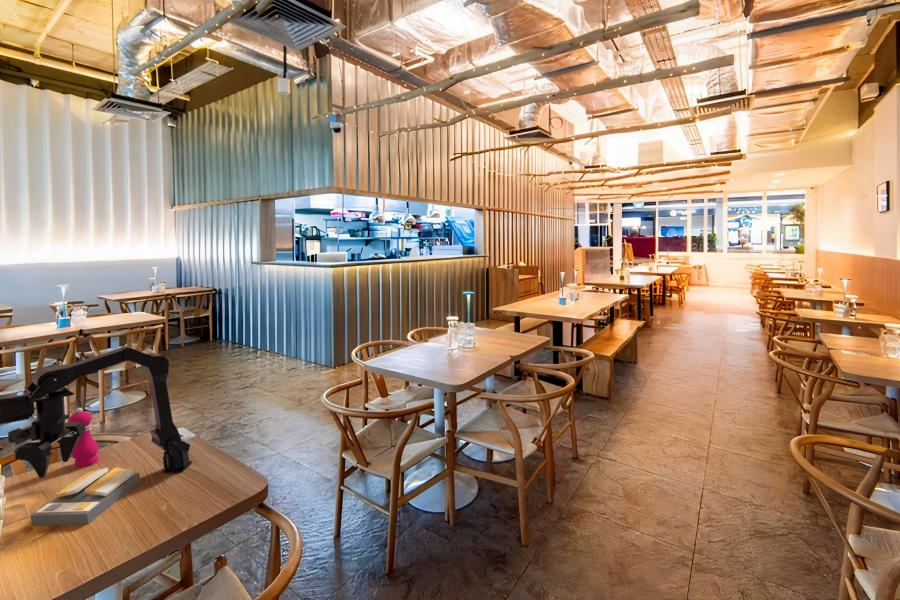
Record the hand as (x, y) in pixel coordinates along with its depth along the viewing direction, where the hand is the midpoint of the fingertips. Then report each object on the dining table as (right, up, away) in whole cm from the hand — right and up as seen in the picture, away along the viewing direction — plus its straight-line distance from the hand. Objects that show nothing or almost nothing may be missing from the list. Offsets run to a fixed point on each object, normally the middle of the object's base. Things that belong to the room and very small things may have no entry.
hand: (54, 469), depth 120 cm
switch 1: (0, -8, +10) cm, 13 cm away
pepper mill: (-16, -10, +30) cm, 36 cm away
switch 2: (+8, -8, +10) cm, 15 cm away
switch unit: (+4, -13, +8) cm, 15 cm away
